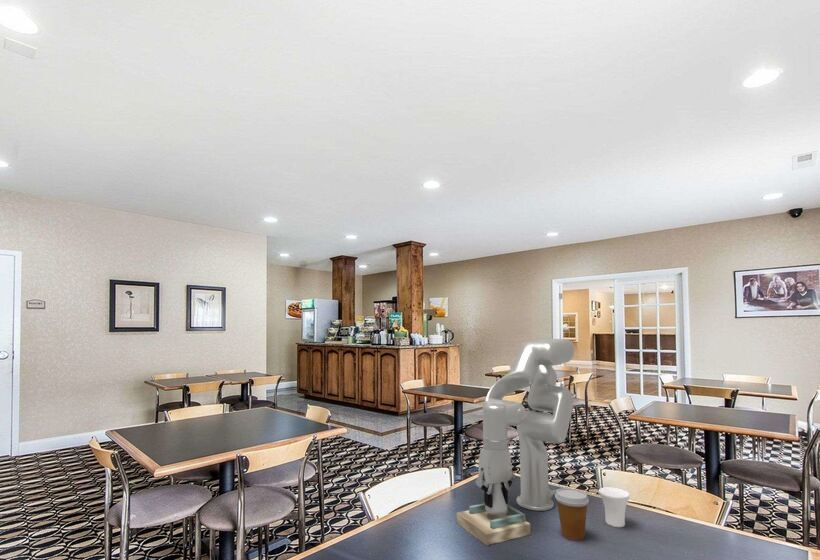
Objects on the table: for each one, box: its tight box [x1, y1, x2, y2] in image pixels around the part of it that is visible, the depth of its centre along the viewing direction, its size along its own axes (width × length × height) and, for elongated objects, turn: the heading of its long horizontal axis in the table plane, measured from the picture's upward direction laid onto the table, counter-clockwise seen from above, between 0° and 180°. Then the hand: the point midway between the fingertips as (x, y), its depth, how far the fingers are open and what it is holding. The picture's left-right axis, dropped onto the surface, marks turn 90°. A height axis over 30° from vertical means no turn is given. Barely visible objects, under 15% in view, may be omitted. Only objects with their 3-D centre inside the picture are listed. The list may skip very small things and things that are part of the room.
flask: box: [485, 483, 508, 515], centre depth 134 cm, size 7×7×10 cm
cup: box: [597, 486, 631, 528], centre depth 136 cm, size 9×9×10 cm
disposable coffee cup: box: [554, 487, 590, 541], centre depth 128 cm, size 10×10×12 cm
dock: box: [456, 502, 531, 546], centre depth 132 cm, size 16×16×5 cm
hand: (496, 503), depth 133 cm, fingers closed on flask, 5 cm apart
